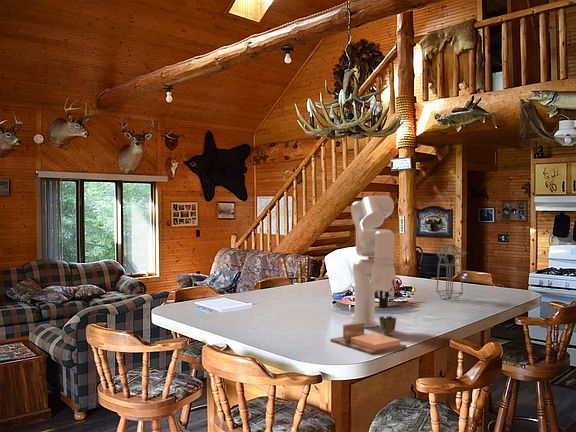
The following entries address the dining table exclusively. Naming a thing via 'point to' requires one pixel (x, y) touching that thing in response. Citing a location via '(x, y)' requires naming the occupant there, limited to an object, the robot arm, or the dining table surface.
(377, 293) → the robot arm
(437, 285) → the geometric lantern
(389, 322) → the cup
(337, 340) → the walnut board
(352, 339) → the tile
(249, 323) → the dining table surface
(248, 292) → the dining table surface
